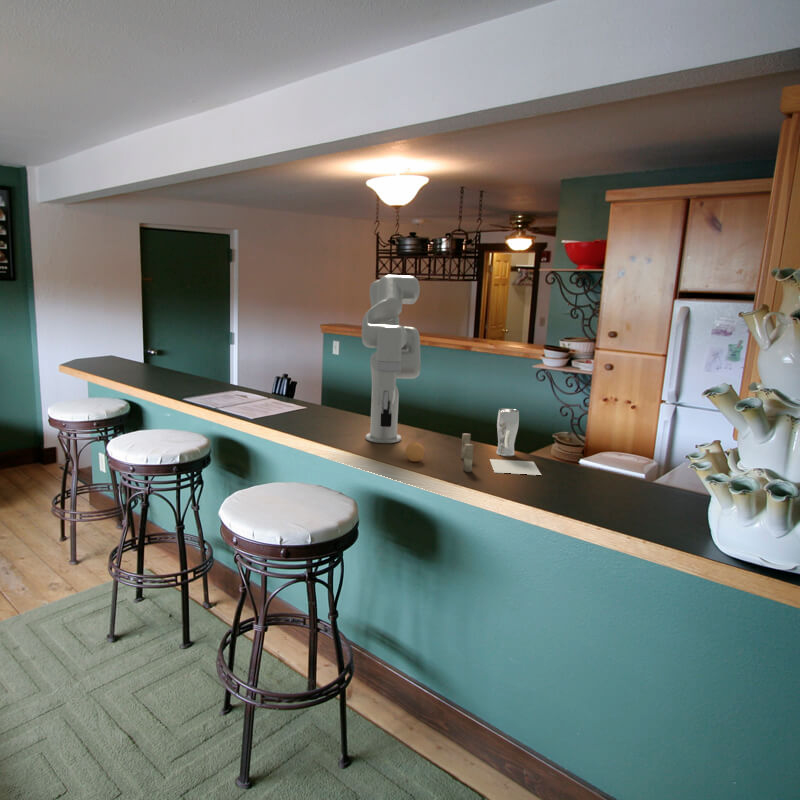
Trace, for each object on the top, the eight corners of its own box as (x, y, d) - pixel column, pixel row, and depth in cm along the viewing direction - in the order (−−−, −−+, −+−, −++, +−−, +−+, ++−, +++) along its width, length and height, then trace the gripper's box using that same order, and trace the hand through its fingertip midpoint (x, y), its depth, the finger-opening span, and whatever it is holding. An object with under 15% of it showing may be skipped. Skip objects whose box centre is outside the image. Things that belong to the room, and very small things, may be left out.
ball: (405, 458, 180) (406, 439, 179) (424, 459, 180) (425, 440, 179) (404, 463, 174) (405, 444, 173) (424, 464, 174) (425, 445, 173)
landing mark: (489, 459, 183) (489, 459, 183) (533, 462, 182) (533, 461, 182) (494, 472, 169) (494, 472, 169) (541, 475, 169) (541, 475, 168)
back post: (460, 457, 184) (462, 433, 183) (468, 457, 184) (470, 433, 183) (461, 459, 182) (462, 435, 180) (469, 459, 182) (470, 435, 180)
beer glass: (500, 457, 186) (503, 412, 184) (491, 451, 193) (494, 408, 190) (519, 456, 188) (523, 412, 185) (510, 450, 195) (513, 408, 192)
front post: (462, 469, 171) (464, 443, 170) (471, 469, 171) (473, 444, 170) (463, 471, 169) (464, 445, 167) (471, 472, 169) (473, 446, 167)
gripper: (378, 364, 180) (376, 421, 183) (373, 368, 165) (371, 430, 168) (402, 365, 179) (399, 422, 182) (399, 370, 165) (396, 431, 167)
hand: (385, 426), depth 175 cm, fingers closed
